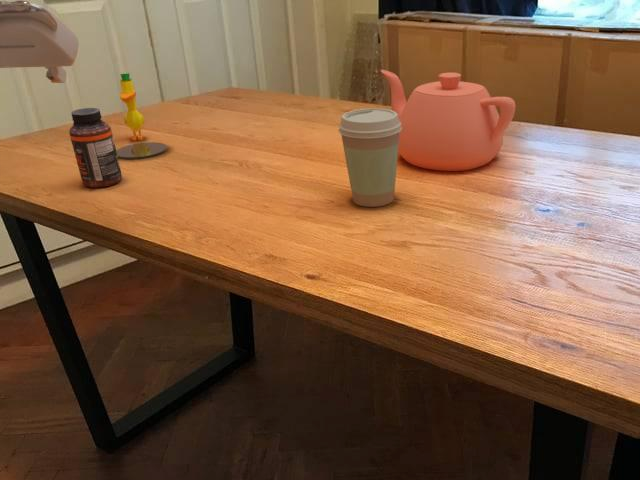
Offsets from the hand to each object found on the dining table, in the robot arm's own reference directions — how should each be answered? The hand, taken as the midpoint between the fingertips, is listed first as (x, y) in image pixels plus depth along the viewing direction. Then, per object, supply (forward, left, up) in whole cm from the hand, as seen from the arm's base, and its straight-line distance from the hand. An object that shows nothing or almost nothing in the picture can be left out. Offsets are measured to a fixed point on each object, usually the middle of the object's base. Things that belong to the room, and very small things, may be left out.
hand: (25, 79), depth 85 cm
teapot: (+39, +44, -19) cm, 62 cm away
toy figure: (-19, +31, -19) cm, 41 cm away
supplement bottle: (-5, +11, -19) cm, 22 cm away
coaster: (-12, +26, -18) cm, 34 cm away
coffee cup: (+38, +22, -19) cm, 48 cm away
